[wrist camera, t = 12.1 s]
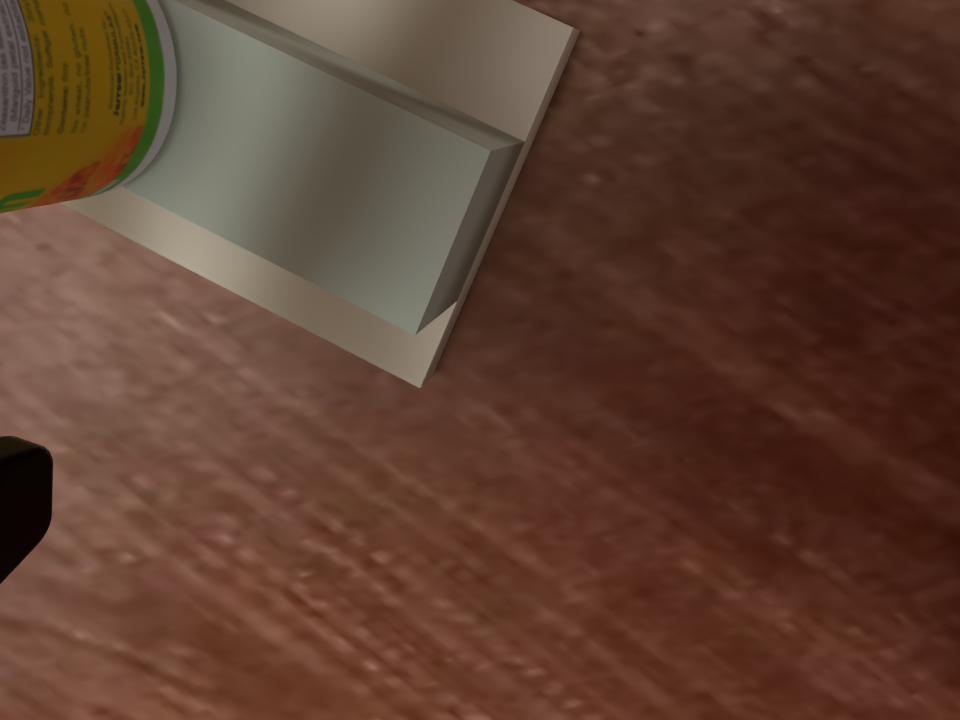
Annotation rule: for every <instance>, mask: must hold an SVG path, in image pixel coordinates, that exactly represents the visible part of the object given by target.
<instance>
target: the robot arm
mask: <svg viewBox="0 0 960 720" xmlns="http://www.w3.org/2000/svg"><path fill="white" fill-rule="evenodd" d="M52 484H53V459H52V456H51V454H50V452H49V451H48V450H47V449H46V448H45V447H43V446H41V445H38V444H35V443H32V442H30V441H27V440H24V439H21V438H18V437H14V436H2V437H0V584H1V583H2V582H3V581H4V580H5V579H6V577H7V576H8V575H9V574H10V573H11V572H12V571H13V570H14V569H15V568H16V567H17V566H18V565H19V564H20V563H21V561H22V560H23V559H24V558H25V557H26V556H27V555H28V554H29V553H30V552H31V551H32V550H33V549H34V548H35V547H36V545H37V544H38V543H39V542H40V541H41V540H42V538H43V537H44V535H45V534H46V532H47V530H48V527H49V525H50V522H51V517H52Z"/></svg>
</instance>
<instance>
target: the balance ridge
mask: <svg viewBox="0 0 960 720" xmlns="http://www.w3.org/2000/svg"><path fill="white" fill-rule="evenodd" d="M157 1H158V3H159V5H160V7H161V9H162V11H163V13H164V16H165V18H166V21H167V24H168V27H169V30H170V34H171V38H172V43H173V47H174V53H175V60H176V70H177V89H176V101H175V109H174V113H173V118H172V121H171V125H170V128H169V130H168V133H167V135H166V138H165V140H164V142H163V144H162V146H161V147H160V149H159V151H158V152H157V154H156V156H155V157H154V158H153V160H152V161H151V162H150V163H149V165H148V166H147V167H146V168H145V169H144V170H143V171H142V172H141V173H140V174H139V175H137V176H136V177H135V178H134V179H132V180H131V181H129V182H128V183H126V184H124V185H123V186H121V187H119V188H117V189H115V190H112V191H110V192H107V193H104V194H100V195H96V196H92V197H88V198H84V199H79V200H72V201H66V202H60V203H61V204H63V205H64V206H66V207H68V208H70V209H72V210H74V211H76V212H78V213H80V214H82V215H84V216H86V217H88V218H90V219H92V220H94V221H96V222H98V223H99V224H101V225H103V226H105V227H107V228H109V229H111V230H113V231H115V232H117V233H119V234H121V235H123V236H125V237H127V238H129V239H131V240H133V241H134V242H136V243H138V244H140V245H142V246H144V247H146V248H148V249H150V250H152V251H154V252H156V253H158V254H160V255H162V256H164V257H166V258H168V259H170V260H171V261H173V262H175V263H177V264H179V265H181V266H183V267H185V268H187V269H189V270H191V271H193V272H195V273H197V274H199V275H201V276H203V277H205V278H206V279H208V280H210V281H212V282H214V283H216V284H218V285H220V286H222V287H224V288H226V289H228V290H230V291H232V292H234V293H236V294H238V295H240V296H241V297H243V298H245V299H247V300H249V301H251V302H253V303H255V304H257V305H259V306H261V307H263V308H265V309H267V310H269V311H271V312H273V313H275V314H277V315H278V316H280V317H282V318H284V319H286V320H288V321H290V322H292V323H294V324H296V325H298V326H300V327H302V328H304V329H306V330H308V331H310V332H312V333H313V334H315V335H317V336H319V337H321V338H323V339H325V340H327V341H329V342H331V343H333V344H335V345H337V346H339V347H341V348H343V349H345V350H347V351H348V352H350V353H352V354H354V355H356V356H358V357H360V358H362V359H364V360H366V361H368V362H370V363H372V364H374V365H376V366H378V367H380V368H382V369H383V370H385V371H387V372H389V373H391V374H393V375H395V376H397V377H399V378H401V379H403V380H405V381H407V382H409V383H411V384H413V385H415V386H417V387H419V388H421V387H422V386H423V385H424V384H425V383H426V382H427V381H428V380H429V379H430V378H431V377H432V376H433V374H434V371H435V369H436V367H437V364H438V362H439V360H440V357H441V355H442V353H443V350H444V348H445V346H446V343H447V341H448V339H449V336H450V334H451V332H452V329H453V327H454V325H455V322H456V320H457V318H458V315H459V313H460V311H461V308H462V306H463V304H464V301H465V299H466V297H467V294H468V292H469V290H470V287H471V285H472V283H473V280H474V278H475V276H476V273H477V271H478V269H479V266H480V264H481V262H482V259H483V257H484V255H485V253H486V250H487V248H488V246H489V243H490V241H491V239H492V236H493V234H494V232H495V229H496V227H497V225H498V222H499V220H500V218H501V215H502V213H503V211H504V208H505V206H506V204H507V201H508V199H509V197H510V194H511V192H512V190H513V187H514V185H515V183H516V180H517V178H518V176H519V173H520V171H521V169H522V166H523V164H524V162H525V159H526V157H527V155H528V152H529V150H530V148H531V145H532V143H533V141H534V138H535V136H536V134H537V131H538V129H539V127H540V124H541V122H542V120H543V117H544V115H545V113H546V110H547V108H548V106H549V103H550V101H551V99H552V96H553V94H554V92H555V89H556V87H557V85H558V82H559V80H560V78H561V75H562V73H563V71H564V68H565V66H566V64H567V61H568V59H569V57H570V54H571V52H572V50H573V47H574V45H575V43H576V40H577V38H578V36H579V33H580V30H577V29H575V28H573V27H571V26H569V25H566V24H564V23H562V22H560V21H557V20H555V19H553V18H551V17H549V16H546V15H544V14H542V13H540V12H538V11H535V10H533V9H531V8H529V7H526V6H524V5H522V4H520V3H518V2H515V1H513V0H157Z"/></svg>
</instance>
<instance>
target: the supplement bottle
mask: <svg viewBox="0 0 960 720" xmlns="http://www.w3.org/2000/svg"><path fill="white" fill-rule="evenodd" d="M176 89H177V70H176V60H175V53H174V47H173V43H172V38H171V34H170V30H169V27H168V24H167V21H166V18H165V16H164V13H163V11H162V9H161V7H160V5H159V3H158V1H157V0H0V213H4V212H9V211H15V210H20V209H26V208H31V207H37V206H43V205H49V204H55V203H60V202H66V201H72V200H79V199H84V198H88V197H92V196H96V195H100V194H104V193H107V192H110V191H112V190H115V189H117V188H119V187H121V186H123V185H124V184H126V183H128V182H129V181H131V180H132V179H134V178H135V177H136V176H137V175H139V174H140V173H141V172H142V171H143V170H144V169H145V168H146V167H147V166H148V165H149V163H150V162H151V161H152V160H153V158H154V157H155V156H156V154H157V152H158V151H159V149H160V147H161V146H162V144H163V142H164V140H165V138H166V135H167V133H168V130H169V128H170V125H171V121H172V118H173V113H174V109H175V101H176Z"/></svg>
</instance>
